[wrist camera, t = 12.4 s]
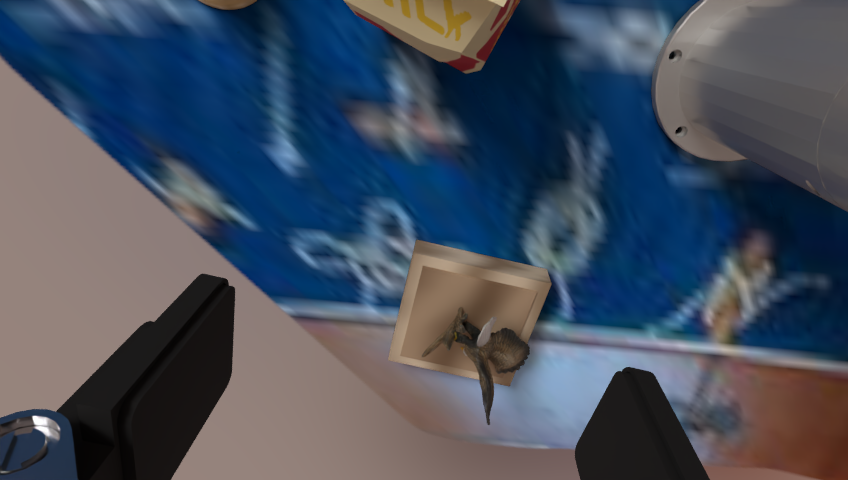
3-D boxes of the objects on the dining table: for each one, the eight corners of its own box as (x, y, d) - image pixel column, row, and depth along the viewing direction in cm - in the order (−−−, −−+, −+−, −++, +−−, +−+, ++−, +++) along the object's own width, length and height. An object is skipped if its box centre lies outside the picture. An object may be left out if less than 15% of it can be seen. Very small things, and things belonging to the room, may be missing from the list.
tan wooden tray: (546, 269, 42) (552, 285, 40) (507, 368, 47) (509, 387, 45) (416, 239, 42) (413, 254, 39) (391, 343, 47) (387, 361, 45)
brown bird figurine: (409, 347, 42) (474, 417, 43) (429, 362, 35) (506, 445, 36) (468, 288, 44) (529, 357, 45) (499, 292, 37) (570, 373, 38)
